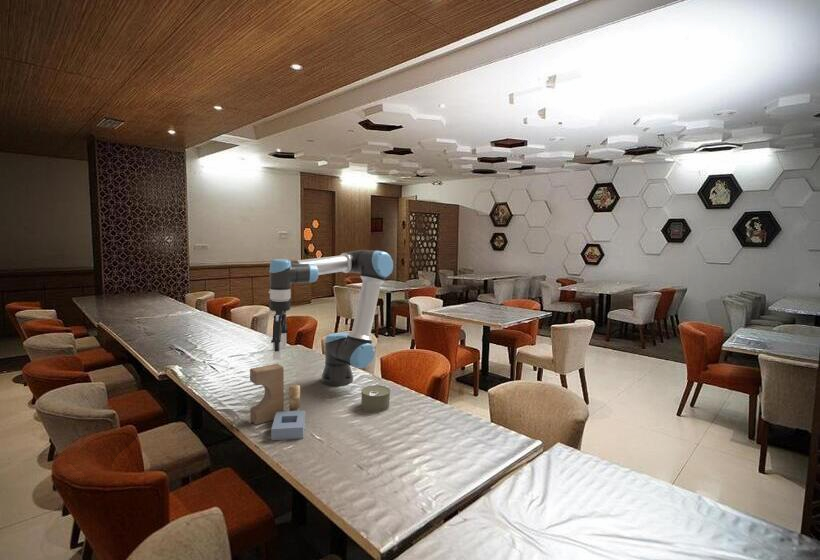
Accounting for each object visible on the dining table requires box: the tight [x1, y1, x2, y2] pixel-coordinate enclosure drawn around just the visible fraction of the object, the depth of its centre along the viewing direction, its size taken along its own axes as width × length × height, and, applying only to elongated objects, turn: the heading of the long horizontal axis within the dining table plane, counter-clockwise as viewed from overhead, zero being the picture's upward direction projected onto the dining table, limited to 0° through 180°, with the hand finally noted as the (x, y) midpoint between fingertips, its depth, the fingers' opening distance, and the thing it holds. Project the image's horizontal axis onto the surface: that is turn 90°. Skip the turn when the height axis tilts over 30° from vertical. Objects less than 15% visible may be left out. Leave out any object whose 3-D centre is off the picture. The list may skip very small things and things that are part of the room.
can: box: [360, 385, 391, 413], centre depth 171 cm, size 12×12×7 cm
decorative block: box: [249, 363, 285, 425], centre depth 156 cm, size 11×6×20 cm, turn 130°
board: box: [270, 409, 306, 441], centre depth 148 cm, size 10×14×4 cm
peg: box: [288, 384, 301, 411], centre depth 159 cm, size 4×4×12 cm
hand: (279, 354), depth 160 cm, fingers open, 13 cm apart
